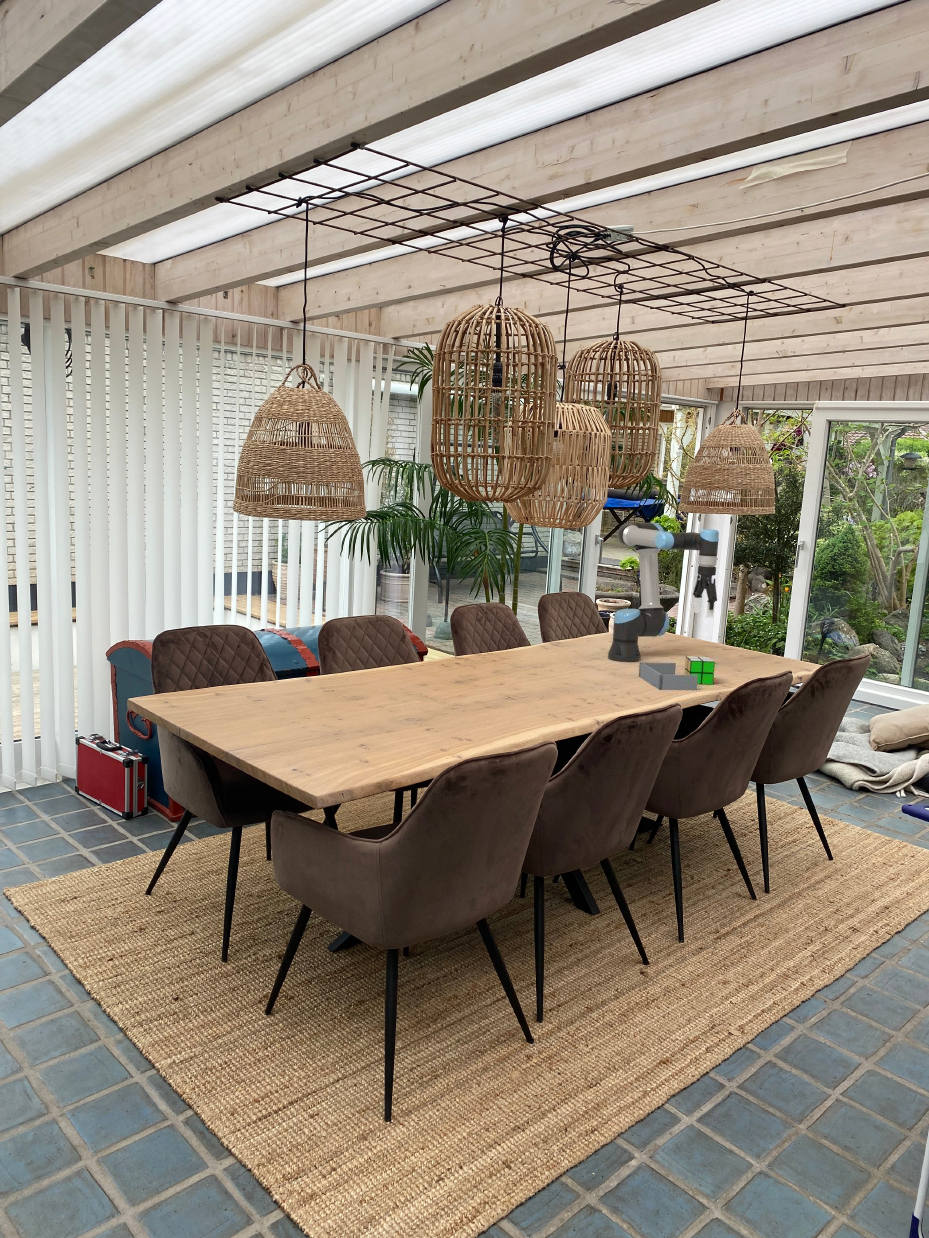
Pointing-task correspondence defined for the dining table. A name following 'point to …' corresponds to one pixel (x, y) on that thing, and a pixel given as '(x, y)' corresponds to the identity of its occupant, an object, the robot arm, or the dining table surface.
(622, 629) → the robot arm
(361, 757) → the dining table surface
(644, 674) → the grey u-shaped wall
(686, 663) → the puzzle cube
